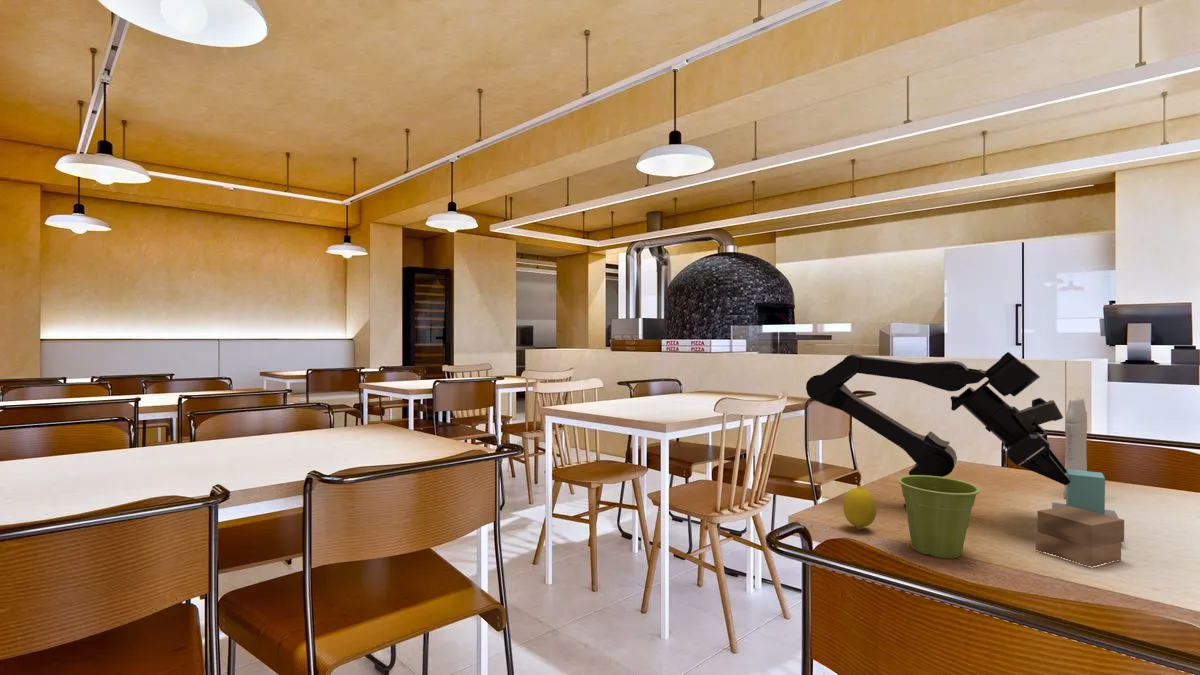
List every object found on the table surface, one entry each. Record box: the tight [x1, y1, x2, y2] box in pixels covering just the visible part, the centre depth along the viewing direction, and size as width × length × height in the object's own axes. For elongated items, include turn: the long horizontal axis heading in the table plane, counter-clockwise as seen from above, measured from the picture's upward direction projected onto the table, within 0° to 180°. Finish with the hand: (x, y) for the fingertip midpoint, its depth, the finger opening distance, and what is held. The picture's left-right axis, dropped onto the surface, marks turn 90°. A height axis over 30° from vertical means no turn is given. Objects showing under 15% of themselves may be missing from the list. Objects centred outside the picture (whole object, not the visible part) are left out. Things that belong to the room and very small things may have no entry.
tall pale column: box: [1063, 396, 1088, 500], centre depth 131 cm, size 11×4×22 cm, turn 127°
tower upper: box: [1036, 506, 1125, 548], centre depth 96 cm, size 8×8×4 cm
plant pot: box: [897, 474, 981, 559], centre depth 98 cm, size 12×12×11 cm
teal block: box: [1065, 469, 1106, 515], centre depth 106 cm, size 5×5×7 cm
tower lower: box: [1035, 531, 1122, 567], centre depth 96 cm, size 8×8×4 cm
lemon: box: [842, 485, 877, 530], centre depth 109 cm, size 6×6×8 cm
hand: (1066, 478), depth 108 cm, fingers open, 9 cm apart
